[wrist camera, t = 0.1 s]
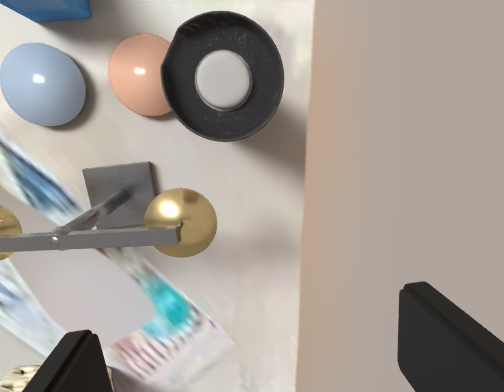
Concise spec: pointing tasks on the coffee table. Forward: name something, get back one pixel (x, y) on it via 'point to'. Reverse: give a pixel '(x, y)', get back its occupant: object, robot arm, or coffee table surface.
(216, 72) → the travel mug
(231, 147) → the coffee table surface
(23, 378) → the storage basket
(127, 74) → the peach glossy round dome
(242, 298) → the coffee table surface
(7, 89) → the pale blue dome
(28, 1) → the perfume bottle
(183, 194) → the balance
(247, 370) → the coffee table surface
